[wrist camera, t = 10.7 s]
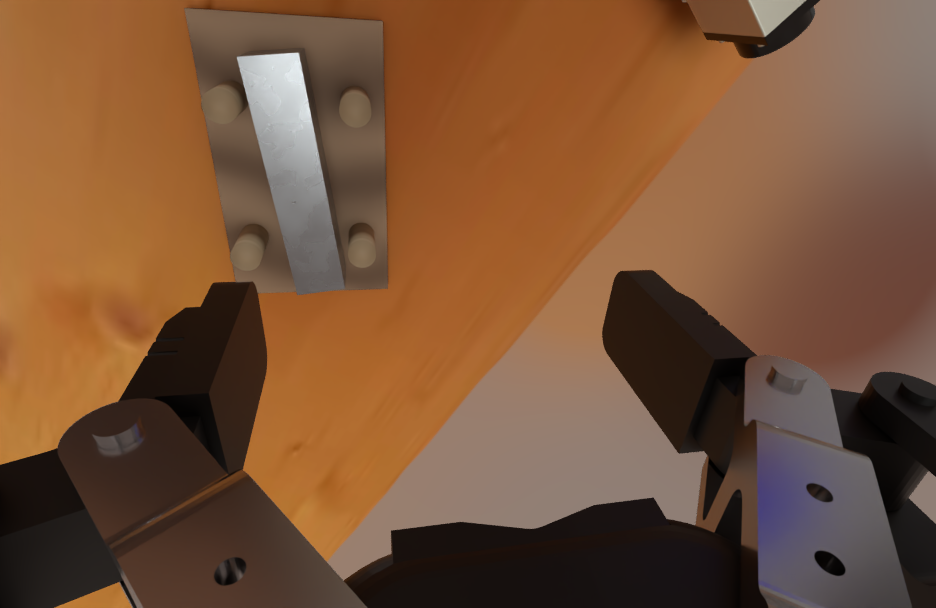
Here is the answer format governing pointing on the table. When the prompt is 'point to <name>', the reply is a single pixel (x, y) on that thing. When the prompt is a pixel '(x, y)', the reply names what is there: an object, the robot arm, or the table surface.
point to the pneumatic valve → (753, 22)
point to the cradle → (341, 125)
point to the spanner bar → (295, 165)
